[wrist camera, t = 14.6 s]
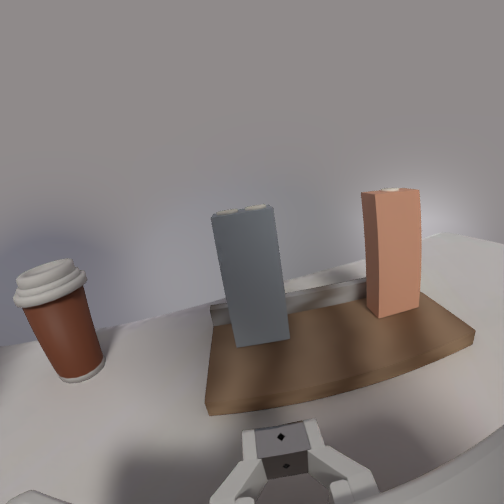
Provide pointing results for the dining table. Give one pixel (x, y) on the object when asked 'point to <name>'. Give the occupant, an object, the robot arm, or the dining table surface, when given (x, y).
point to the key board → (326, 349)
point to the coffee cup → (61, 318)
